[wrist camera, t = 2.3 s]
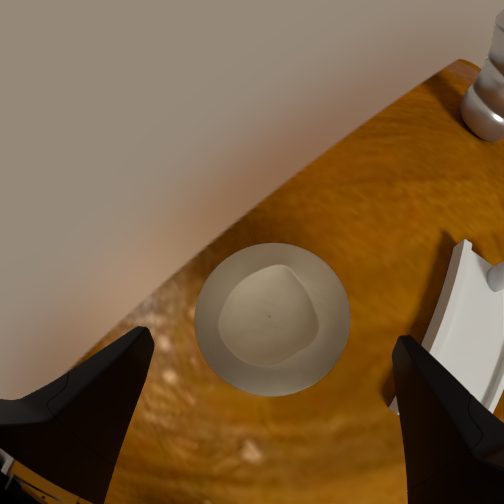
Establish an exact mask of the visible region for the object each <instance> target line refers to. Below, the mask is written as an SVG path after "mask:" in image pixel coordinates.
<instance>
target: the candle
mask: <svg viewBox="0 0 504 504" xmlns="http://www.w3.org/2000/svg"><path fill="white" fill-rule="evenodd" d="M349 330H350V306H349V302H348V298H347V295H346V292H345V289H344V287H343V285H342V283H341V281H340V279H339V278H338V276H337V275H336V274H335V272H334V271H333V270H332V269H331V268H330V267H329V266H328V264H327V263H325V262H324V261H323V260H322V259H320V258H319V257H318V256H316V255H315V254H313V253H311V252H309V251H307V250H305V249H303V248H300V247H297V246H294V245H289V244H284V243H264V244H258V245H253V246H250V247H247V248H244V249H242V250H240V251H238V252H236V253H234V254H232V255H231V256H229V257H228V258H226V259H225V260H224V261H223V262H221V263H220V264H219V265H218V266H217V267H216V268H215V269H214V270H213V271H212V273H211V274H210V276H209V277H208V278H207V280H206V282H205V283H204V285H203V287H202V289H201V292H200V294H199V297H198V300H197V304H196V310H195V332H196V337H197V341H198V345H199V347H200V350H201V352H202V354H203V356H204V358H205V360H206V361H207V363H208V364H209V366H210V367H211V368H212V369H213V371H214V372H215V373H216V374H217V375H218V376H219V377H220V378H222V379H223V380H224V381H226V382H227V383H228V384H230V385H232V386H233V387H235V388H237V389H239V390H242V391H244V392H247V393H250V394H254V395H259V396H283V395H289V394H293V393H296V392H299V391H302V390H304V389H306V388H308V387H310V386H312V385H313V384H315V383H316V382H318V381H319V380H320V379H322V378H323V377H324V376H325V375H326V374H327V373H328V372H329V371H330V370H331V369H332V368H333V367H334V365H335V364H336V362H337V361H338V360H339V358H340V356H341V354H342V352H343V350H344V348H345V345H346V342H347V339H348V335H349Z"/></svg>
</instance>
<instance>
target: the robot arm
mask: <svg viewBox="0 0 504 504" xmlns="http://www.w3.org/2000/svg"><path fill="white" fill-rule="evenodd" d="M154 346H155V345H154V341H153V338H152V336H151V333H150V331H149V329H148V328H147V327H142V326H137V327H135V328H134V329H132V330H131V331H129V332H128V333H126V334H125V335H123V336H122V337H120V338H119V339H117V340H116V341H114V342H113V343H111V344H110V345H108V346H107V347H105V348H104V349H102V350H100V351H99V352H97V353H96V354H94V355H93V356H91V357H90V358H88V359H87V360H85V361H84V362H82V363H81V364H79V365H78V366H76V367H75V368H73V369H72V370H70V372H67V373H65V374H64V375H62V376H61V377H59V378H58V379H56V380H55V381H53V382H51V383H50V384H48V385H46V386H44V387H42V388H40V389H39V390H36V391H35V392H33V393H31V394H29V395H27V396H25V397H23V398H21V399H17V400H4V399H0V504H79V503H78V500H79V498H82V499H84V500H87V501H89V502H91V503H93V504H104V501H105V497H106V494H107V491H108V487H109V484H110V481H111V478H112V474H113V471H114V468H115V464H116V461H117V458H118V455H119V452H120V449H121V446H122V443H123V440H124V438H125V435H126V432H127V429H128V426H129V423H130V421H131V418H132V415H133V412H134V410H135V407H136V404H137V402H138V399H139V396H140V394H141V391H142V388H143V386H144V383H145V380H146V377H147V373H148V369H149V366H150V362H151V358H152V355H153V351H154ZM392 360H393V370H394V381H395V392H396V399H397V405H398V410H399V416H400V423H401V429H402V437H403V444H404V453H405V463H406V475H407V490H408V492H407V494H408V504H504V423H503V422H502V421H500V420H499V419H498V418H497V417H496V416H494V415H493V414H492V413H491V412H490V411H489V410H488V409H487V408H485V407H484V406H483V405H482V404H481V403H480V402H479V401H478V400H477V399H476V398H475V397H474V396H473V395H472V394H470V392H469V391H468V390H467V389H466V388H465V387H464V386H463V385H462V384H461V383H460V382H459V381H458V380H457V379H456V378H455V377H454V376H453V375H452V374H451V373H450V372H449V371H448V370H447V369H446V368H445V367H444V366H443V365H442V364H441V363H440V362H439V361H438V360H436V359H435V358H434V357H433V356H432V355H431V354H430V353H429V352H428V351H427V350H426V349H425V348H424V347H423V346H422V345H420V344H419V343H418V342H417V341H416V340H415V339H414V338H413V337H412V336H410V335H402V336H399V337H398V339H397V342H396V345H395V347H394V350H393V353H392Z"/></svg>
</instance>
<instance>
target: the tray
mask: <svg viewBox="0 0 504 504" xmlns="http://www.w3.org/2000/svg"><path fill="white" fill-rule="evenodd" d="M471 248H472V243H470V242H469V241H467V240H466V239H464V240H463V241H461V242H460V243H458V244H457V245H456V246H454V248H453V252H452V256H451V260H450V264H449V267H448V271H447V274H446V278H445V281H444V285H443V288H442V291H441V294H440V297H439V300H438V303H437V306H436V309H435V311H434V314H433V317H432V319H431V322H430V325H429V327H428V330H427V332H426V334H425V337H424V339H423V341H422V344H421V345H422V346H423V347H424V348H425V349H426V350H427V351H428V352H429V353H430V354H431V355H432V356H433V357H434V358H435V359H436V360H438V361H439V362H440V363H441V364H442V365H443V366H444V367H445V368H446V369H447V370H448V371H449V372H450V373H451V374H452V375H453V376H454V377H455V378H456V379H457V380H458V381H459V382H460V383H461V384H462V385H463V386H464V387H465V388H466V389H467V390H468V391H469V392H470V394H472V395H473V396H474V397H475V398H476V399H477V400H478V401H479V402H480V403H481V404H482V405H483V406H484V407H485V408H487V409H488V410H489V411H490V412H491V413H492V414H493V412H494V410H495V407H496V405H497V403H498V401H499V398H500V396H501V394H502V391H503V389H504V261H503V262H501V263H499V264H497V265H496V266H492V265H491V264H490V263H488V262H487V261H486V260H484V259H483V258H481V257H480V256H479V255H477V254H476V253H474V252H473V251H472V250H471ZM389 409H390V410H392V411H394V412H395V413H397V414H398V415H399V410H398V405H397V399H396V396H395V398H394V399H393V401H392V403H391V404H390V406H389Z"/></svg>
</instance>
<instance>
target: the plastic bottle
mask: <svg viewBox="0 0 504 504" xmlns="http://www.w3.org/2000/svg"><path fill="white" fill-rule="evenodd" d="M460 110H461V116H462V118H463V120H464V122H465V124H466V125H467V126H468V127H469V129H470V130H471V131H472V132H473V133H475V134H476V135H477V136H478V137H480V138H481V139H483V140H485V141H488V142H495V141H499V140H500V139H501V138H503V137H504V10H502V11H501V12H500V13H499V14H498V15H497V16H496V20H495V26H494V32H493V38H492V43H491V48H490V50H489V53H488V58H487V59H486V62H485V65H484V66H483V68H482V70H481V72H480V73H479V75H478V77H477V78H476V80H475V82H474V83H473V84H472V85H471V86H470V87H469V88H468V90H467V91H466V93H465V94H464V96H463V98H462V101H461V105H460Z"/></svg>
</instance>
